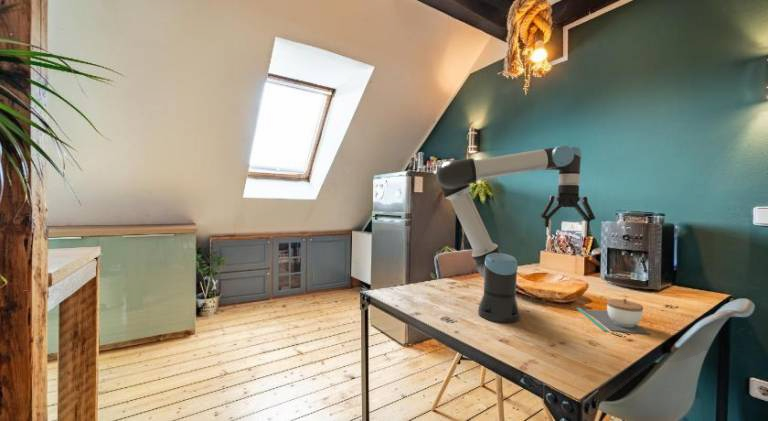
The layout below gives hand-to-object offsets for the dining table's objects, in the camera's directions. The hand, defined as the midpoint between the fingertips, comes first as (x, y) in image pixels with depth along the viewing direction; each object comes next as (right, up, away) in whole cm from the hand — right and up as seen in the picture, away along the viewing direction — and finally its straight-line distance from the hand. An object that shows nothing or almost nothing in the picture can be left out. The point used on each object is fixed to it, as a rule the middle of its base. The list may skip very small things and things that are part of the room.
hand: (566, 236), depth 135 cm
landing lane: (+11, -31, -11) cm, 35 cm away
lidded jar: (+12, -32, -16) cm, 37 cm away
